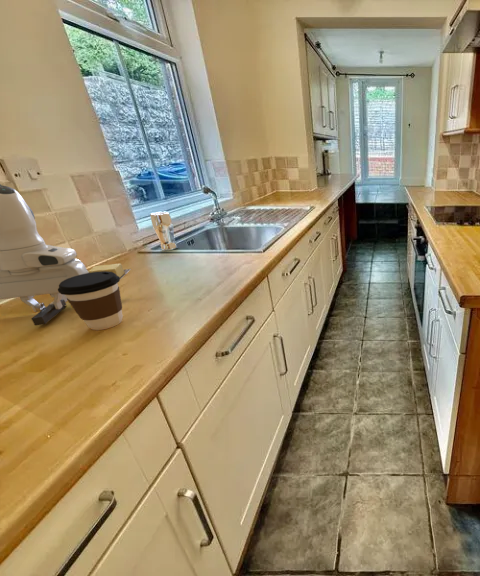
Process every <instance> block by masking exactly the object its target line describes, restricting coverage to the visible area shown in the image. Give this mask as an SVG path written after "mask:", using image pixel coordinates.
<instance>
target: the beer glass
mask: <svg viewBox="0 0 480 576" xmlns="http://www.w3.org/2000/svg"><path fill="white" fill-rule="evenodd" d="M149 216H150V220H151V225H152V228H153V230H154V232H155V234H156V236H157V238H158V240H159V243H160V250H161V251H172V250H177V249H178V248H179V247H178V244H177V242H176V239H175V231H174V230H175V229H174V224H173V220H172V218H171V215H170V211H155V212H152V213H150V214H149Z"/></svg>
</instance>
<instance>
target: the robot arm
mask: <svg viewBox="0 0 480 576" xmlns="http://www.w3.org/2000/svg"><path fill="white" fill-rule="evenodd" d="M77 256H78V253H77V251H76V250H75V249H74V248H70V247H69V248H68V247H62V246H57V245H56V246H55V245H51V244H46V241H45V240H44V238H43V237H42V236H41V235H40V234H39V232H38V228H37V222H36V218H35V214H34V211H33V210H32V208H31V207H30V206H29V205H28V204H27V202H26V201H25V199H24V198H23V197H22V195H21V194H20V193H19V192H18V191H17V190H16V189H15V188H13V187H10V186H8V185H3V184H1V183H0V300H8V299H9V300H11V299H18V298H20V300H21V302H23V303H24V304H25V305H28V306H29V307H31V309H32V310H33V313H39V312H40V311H42V310H43V309H44V308H46V307H47V306H45V303H44V302H39V301H38V300H36V299H35V296H43V295H49V296H50V298H53V301H51V302H50V303H49V304H48V305H49V306H50V307H51V309H52V310H57V309H61V308H62V304H61V301H60V300H61V298H62V295H63V294H61V293H59V292H58V288H59V284H60V283H61V282H62V281H64V280H66V279H68V278H71V277H74V276H77V275H81V274H86V273H89V272H88V271H89V270H88V269H87V266H86V265H85V264H84V262H82V261H81V260H80V259H78V258H76V257H77Z"/></svg>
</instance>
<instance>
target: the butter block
mask: <svg viewBox="0 0 480 576" xmlns="http://www.w3.org/2000/svg"><path fill="white" fill-rule="evenodd" d="M124 270H125V269H124V267H123V264H122V263H111V264H101V265H95V266H93V267H92V268H90V269H89V270H88V272H89V273H92V272H101V271H108V272H113V273H115V274H116V275H117V276H119V278H120V277H121V276H122V275H123V274H124Z"/></svg>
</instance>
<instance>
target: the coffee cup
mask: <svg viewBox="0 0 480 576" xmlns="http://www.w3.org/2000/svg"><path fill="white" fill-rule="evenodd" d="M120 280H121V279H120V278H119V276H117V275H116V274H115V273H113V272H108V271H101V272H92V273H86V274H81V275H77V276H74V277H71V278H68V279H66V280H64V281H62V282H61V283H60V284H59V288H58V292H59V293H61V294H63V295H65V296H66V297H67V300H68V301H67V302H68V304H69V305H70V306H71V307H72V309H73V310H74V311H75V313H76V314H77V316H78V317H79V318H80V319H81V320H82V321H83V322H84V323H85V326H86V327H88V328H89V329H91V330H92V331H102V330H107V329H111V328H113V327H116V326H117V325H120V324H121V323H122V322H123V304H122V303H123V302H122V297H121V291H120V286H119V284H118V283H120Z"/></svg>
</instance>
